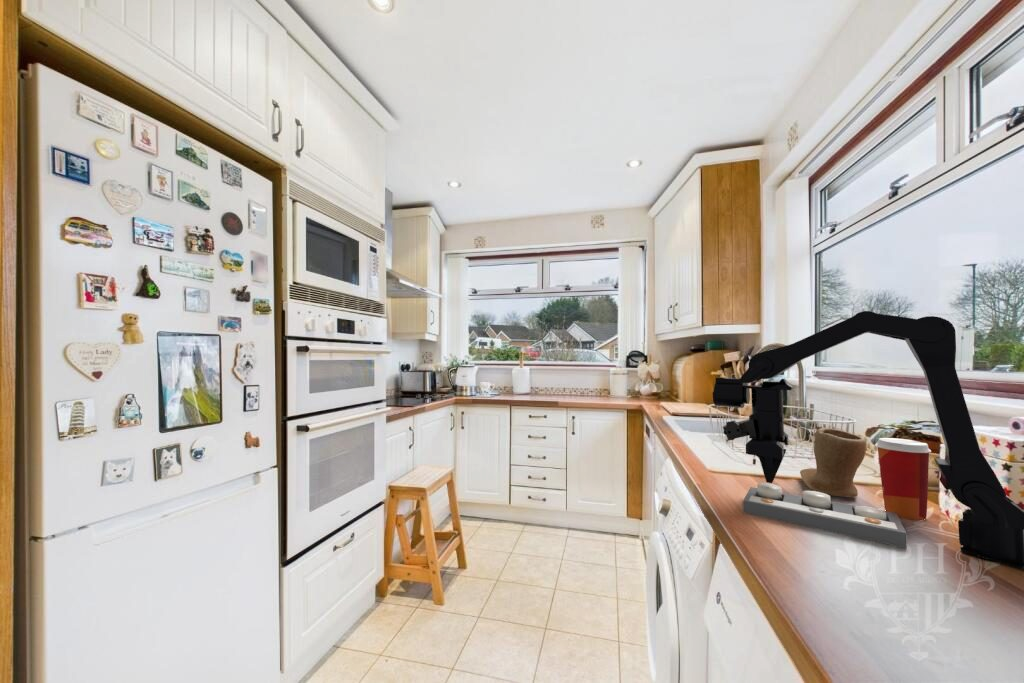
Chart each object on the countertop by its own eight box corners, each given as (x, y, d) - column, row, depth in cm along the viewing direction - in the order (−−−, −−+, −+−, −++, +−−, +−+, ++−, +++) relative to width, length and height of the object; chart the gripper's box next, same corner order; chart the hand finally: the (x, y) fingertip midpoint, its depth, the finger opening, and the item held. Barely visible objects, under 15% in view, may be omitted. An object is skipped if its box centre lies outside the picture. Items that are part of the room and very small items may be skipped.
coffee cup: (908, 507, 83) (905, 437, 84) (947, 523, 75) (943, 446, 76) (866, 506, 84) (863, 436, 85) (900, 522, 76) (897, 445, 77)
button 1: (782, 495, 84) (782, 485, 84) (781, 500, 80) (780, 491, 80) (758, 490, 86) (758, 481, 87) (756, 496, 83) (756, 486, 83)
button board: (897, 526, 74) (896, 510, 74) (907, 548, 65) (906, 530, 65) (750, 498, 89) (750, 485, 89) (743, 512, 80) (743, 498, 80)
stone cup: (874, 506, 84) (872, 436, 85) (806, 495, 90) (804, 431, 91) (858, 486, 97) (855, 426, 98) (799, 479, 103) (797, 422, 104)
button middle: (830, 503, 79) (830, 493, 79) (830, 510, 75) (830, 499, 75) (803, 498, 81) (803, 489, 82) (802, 505, 78) (802, 494, 78)
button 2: (885, 520, 74) (884, 509, 74) (888, 528, 70) (887, 516, 70) (854, 514, 76) (853, 504, 77) (855, 521, 73) (855, 510, 73)
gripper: (732, 403, 97) (734, 466, 96) (717, 411, 82) (719, 485, 81) (787, 406, 90) (789, 475, 89) (780, 416, 75) (783, 497, 74)
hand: (769, 482), depth 84 cm, fingers closed
